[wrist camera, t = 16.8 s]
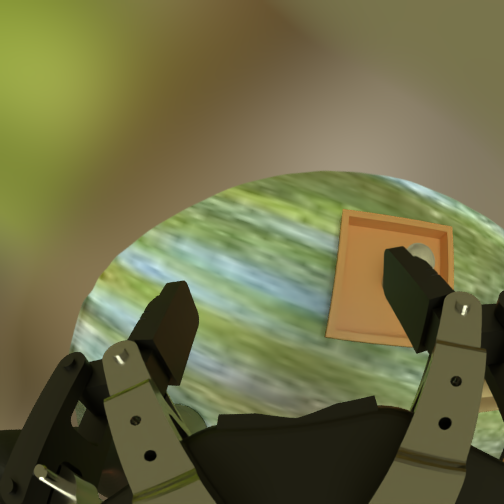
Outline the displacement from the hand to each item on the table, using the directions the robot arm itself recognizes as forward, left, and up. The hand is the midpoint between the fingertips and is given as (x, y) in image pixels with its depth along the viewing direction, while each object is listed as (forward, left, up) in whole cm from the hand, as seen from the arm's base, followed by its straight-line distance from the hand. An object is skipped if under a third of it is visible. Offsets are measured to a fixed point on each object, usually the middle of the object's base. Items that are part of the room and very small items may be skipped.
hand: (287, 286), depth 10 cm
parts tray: (+8, -12, -29) cm, 32 cm away
